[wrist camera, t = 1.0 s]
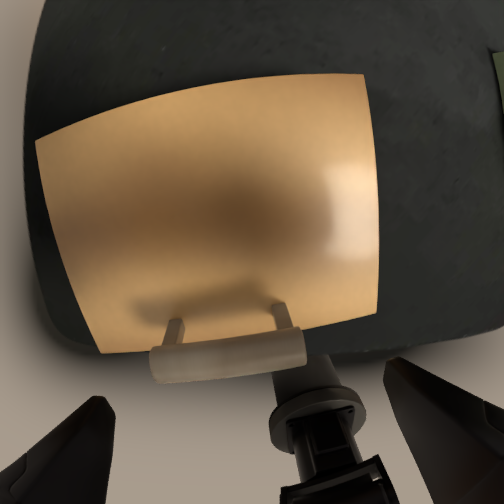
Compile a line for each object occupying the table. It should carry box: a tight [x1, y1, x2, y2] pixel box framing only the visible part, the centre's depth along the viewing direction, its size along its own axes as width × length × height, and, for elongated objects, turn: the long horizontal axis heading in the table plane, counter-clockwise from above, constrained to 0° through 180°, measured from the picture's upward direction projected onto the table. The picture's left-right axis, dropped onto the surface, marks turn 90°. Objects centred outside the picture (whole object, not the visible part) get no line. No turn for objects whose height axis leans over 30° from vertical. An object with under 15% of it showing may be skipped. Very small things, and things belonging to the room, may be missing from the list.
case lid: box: [35, 74, 379, 384], centre depth 11 cm, size 12×15×5 cm
